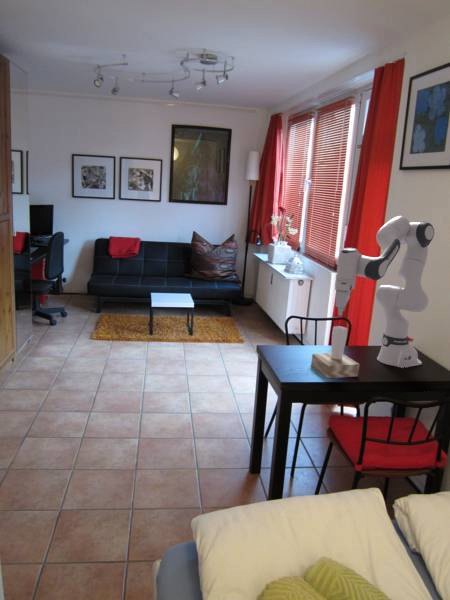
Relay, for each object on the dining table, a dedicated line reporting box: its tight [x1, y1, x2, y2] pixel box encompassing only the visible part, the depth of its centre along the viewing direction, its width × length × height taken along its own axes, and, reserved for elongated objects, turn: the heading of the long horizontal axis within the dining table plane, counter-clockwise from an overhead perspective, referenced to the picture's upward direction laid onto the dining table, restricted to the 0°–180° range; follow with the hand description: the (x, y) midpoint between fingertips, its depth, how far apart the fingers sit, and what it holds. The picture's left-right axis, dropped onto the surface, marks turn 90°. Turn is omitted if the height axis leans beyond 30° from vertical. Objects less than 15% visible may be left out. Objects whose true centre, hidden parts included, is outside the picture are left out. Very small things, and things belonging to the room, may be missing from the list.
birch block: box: [310, 352, 360, 379], centre depth 242 cm, size 16×16×6 cm
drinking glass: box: [330, 325, 348, 360], centre depth 240 cm, size 7×7×15 cm
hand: (341, 312), depth 236 cm, fingers open, 8 cm apart
